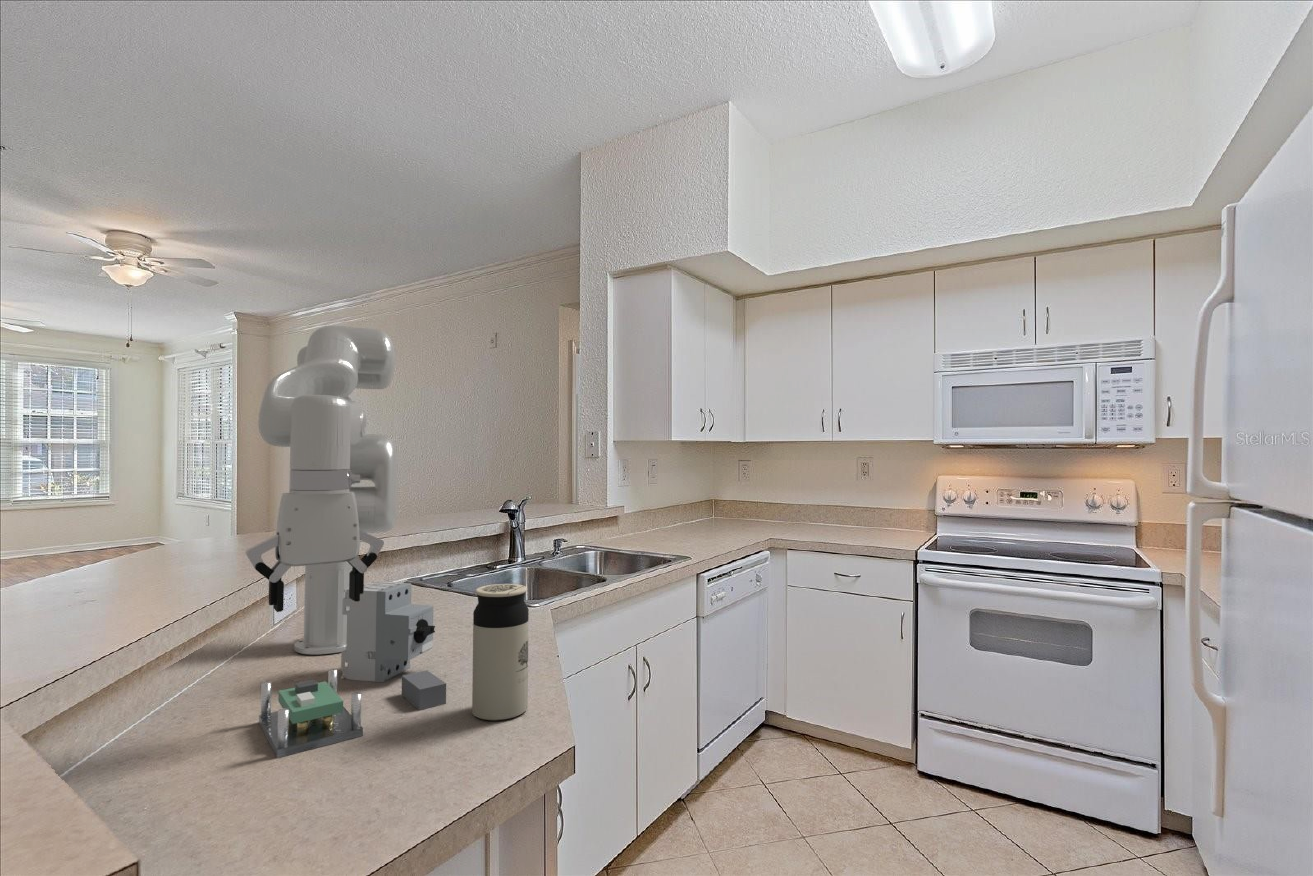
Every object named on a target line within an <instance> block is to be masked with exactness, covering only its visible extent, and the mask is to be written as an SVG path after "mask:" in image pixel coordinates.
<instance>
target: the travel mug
mask: <svg viewBox="0 0 1313 876" xmlns="http://www.w3.org/2000/svg"><path fill="white" fill-rule="evenodd" d="M527 591H528V587H527V586H525V585H522V584H517V583H497V584H496V583H495V584H489V585H488V584H487V585H483V586H480V587H477V588H476V589H475V592H474V593H475V594H476V596H477V602H478V603H477V605H476V606H475V608H474V610H473V615H472V616H473V618H472V620H473V621H472V626H473V627H472V693H471V694H472V701H471V708H472V709H471V713H472V714H473V716H475V717H477V718H478V719H481V720H483V721H494V722H496V721H507V720H510V719H513V718H516V717H519V716H520V715H522V714H524V713H525V712H527V710H528V707H529V705H528V704H529V701H528V700H529V694H528V693H529V689H528V688H529V621H530V620H529V613H530V612H529V611H530V610H529V608H528V606H527V605H528V604H526V602H525V596H526V592H527Z"/></svg>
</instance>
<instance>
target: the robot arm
mask: <svg viewBox="0 0 1313 876" xmlns="http://www.w3.org/2000/svg"><path fill="white" fill-rule="evenodd" d="M394 345H395V344H394V343H393V340H392V338H391V337H390V335H388V334H387V332H385V331H384V330H380V329H377V328H367V327H365V328H364V327H363V328H362V327H354V326H341V325H328V326H323V327H319V328H318V329H316V330H315V331H313V332H312V334H310V336H309V338H308V341H307V346H304V347H302V348H301V349H299V350H298V353H297V359H296V361H297V363H296V364H297V365H296V366H293V367H292V368H290V369H288V370H285V371H283V372H281V373H279V374H278V375H276V376H275V377H274V378H272V379H271V380H270V381H269V383H268V384H267V386H266V388H265V391H264V394H263V397H262V400H261V403H260V409H259V413H258V423H257V425H258V431H259V434H260V437H261V438H262V440H263V441H265V442H266V443H267V444H268V445H271V446H274V447H279V448H280V447H281V448H289V491H288V492H283V493H282V495H281V498H280V502H279V507H278V514H277V520H276V521H277V522H276V529H275V530H276V532H275V534H274V535H273V536H272V537H270V538H267V539H266V540H263V541H261V542H259V543H257V544H255V545H254V546H252V547H250V548H248V549H246V550H245V556H246V557H247V558H248V560H249V561H250V563H251V565H252V566H253V568H254V569H255V570H256V572H258V573H259V574H260V575H262V576H263V577H264V578H266V579H267V580H268V605H269V606H273V609H274V611H275V612H276V613H281V612H282V611H284V602H285V601H284V600H285V599H284V595H285V594H284V592H285V589H284V588H285V583H284V581H283V580H282V577H283V576H284V575H285V574H286V573H287V572H288V571H289V569H290V568H291V567H303V566H304V567H305V569H304V570H305V571H304V607H303V608H304V609H303V611H304V612H303V615H304V616H303V638H301V639H299V640H297V641H296V642H295V643H294V651H295V652H296V653H298V654H302V655H311V656H312V655H313V656H314V655H317V656H318V655H329V654H335V653H336V654H337V653H341V651H344V650H346V639H347V615H342V603H343V599H344V598H345V592H344V590H345V589H348V588H349V598H350V599H352V600H353V601H355V602H357V601H360V594H363V592H364V584H365V573H366V572H367V571H368V569H369V568H370V567H371V565H372V564H373V563H375V562H376V560H377V559H378V556H379V554H380V552H381V551H382V548H383V547H384V545H385V541H384V540H383V539H381V538H379V537H376V536H373V535H371V534H376V533H386V532H389V531H391V530H392V529H394V528H395V526H396V523H397V520H398V519H397V518H398V502H399V501H398V488H399V487H398V451H397V446H396V443H395V441H394V440H393V438H392V437H390V436H387V435H385V434H374V433H373V434H367V433H366V432H367V424H368V423H367V414H366V413H365V411H364V410H363V409H362V407H361V406H360V404H359V403H358V402H356V401H354V400H352V399H351V398H350V397H349V396H350V395H351V394H352V393H353V392H354V391H355V390H356V389H358V390H359V389H363V390H364V389H365V390H384V389H386V388H389V386H390V385H391V384H392V382H393V380H394V379H393V378H394V372H395V364H396V351H395V347H394ZM361 481H370V482H372V483H373V484H374V486H352V485H355V484H360V483H361ZM361 541H362V542H364V543H366V544H369V549H368V551H367V552H366V553H365V554H364V555H363V556H362V557H361V558H360V557H359V554H360V548H361V547H360V546H361ZM272 549H274V555H275V559H276V560H277V561H276V563H274V565H272V566H271V567H269V566H268V565H267V564H266V563H265V561H264V560H263V559H262V555H264V554H265V553H267V552H269V551H270V550H272ZM348 610H349V606H346V611H348Z"/></svg>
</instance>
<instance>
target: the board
mask: <svg viewBox="0 0 1313 876" xmlns="http://www.w3.org/2000/svg"><path fill="white" fill-rule="evenodd" d="M278 703H279V705H280V706H281V709H283V708H289V719H290V721H291V722H292V724H295V723H300V722H304V721H308V720H312V719H317V718H321V717H325V716H330V715H334V714H338V713H343V706H344V700H343V699H342V698H341V697H340V696H339V694H338V692H337V693H336V692H335V691H334V690H333V689H332V688H331V687H330V686H329V685H328V682H327V681H321V682H317V681H316V679H310V680H309V679H308V680H304V681H299V682H295V683H294V687H290V688H286V689H280V690H278Z"/></svg>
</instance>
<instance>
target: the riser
mask: <svg viewBox="0 0 1313 876" xmlns="http://www.w3.org/2000/svg"><path fill="white" fill-rule="evenodd" d="M401 696H402V697H403V698H404V699H406V700H407V701H408V702H410V704H412V705H413V706H414V707H416V708H417V709H418V711H421V710H426V709H429V708H435V707H437V706H441V705H445V704H447V683H446V682H444V681H443V679H440V678H439V677H437V676H436V675H434V674H433V673H432V672H431V671H429V670H423V671H417V672H413V673H409V674H403V675H401Z"/></svg>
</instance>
